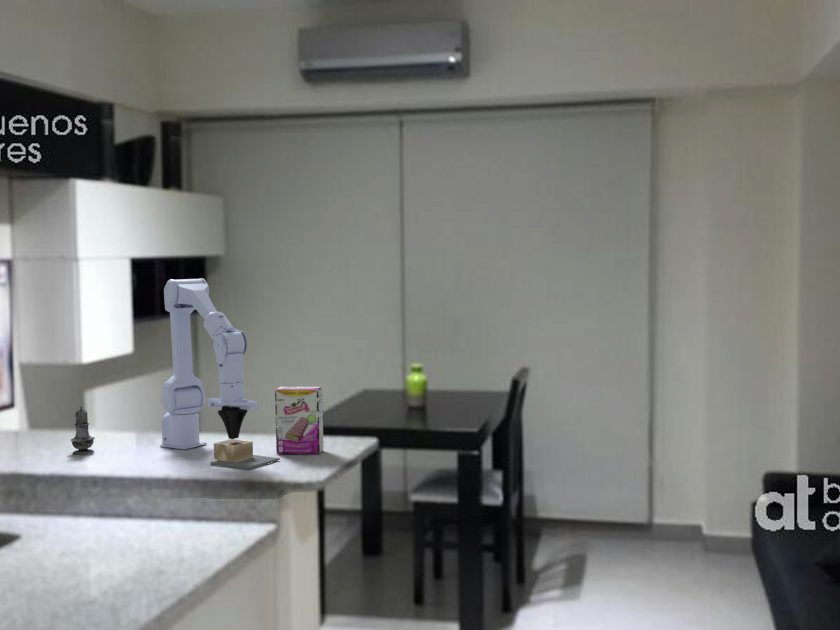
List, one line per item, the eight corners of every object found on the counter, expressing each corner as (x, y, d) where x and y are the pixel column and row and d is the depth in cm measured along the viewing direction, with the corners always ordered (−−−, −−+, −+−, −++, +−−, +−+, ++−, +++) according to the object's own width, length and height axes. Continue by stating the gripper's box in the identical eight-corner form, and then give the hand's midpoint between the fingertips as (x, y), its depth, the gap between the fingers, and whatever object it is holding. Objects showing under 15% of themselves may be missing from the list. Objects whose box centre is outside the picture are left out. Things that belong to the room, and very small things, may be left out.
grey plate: (210, 464, 224) (210, 462, 224) (242, 455, 233) (242, 453, 233) (248, 469, 218) (248, 467, 218) (279, 460, 227) (279, 458, 227)
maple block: (213, 443, 226) (235, 445, 223) (231, 438, 232) (252, 441, 228) (214, 459, 227) (235, 462, 223) (231, 455, 232) (253, 457, 228)
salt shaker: (99, 452, 242) (97, 405, 241) (77, 456, 238) (75, 408, 237) (88, 449, 246) (86, 403, 245) (66, 453, 242) (64, 406, 241)
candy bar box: (275, 454, 234) (273, 389, 233) (280, 450, 239) (278, 386, 238) (320, 454, 233) (318, 388, 232) (324, 450, 238) (322, 385, 237)
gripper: (197, 382, 227) (199, 438, 227) (242, 385, 219) (244, 443, 220) (218, 378, 233) (220, 433, 233) (263, 381, 225) (265, 438, 226)
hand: (233, 438), depth 227 cm, fingers closed
